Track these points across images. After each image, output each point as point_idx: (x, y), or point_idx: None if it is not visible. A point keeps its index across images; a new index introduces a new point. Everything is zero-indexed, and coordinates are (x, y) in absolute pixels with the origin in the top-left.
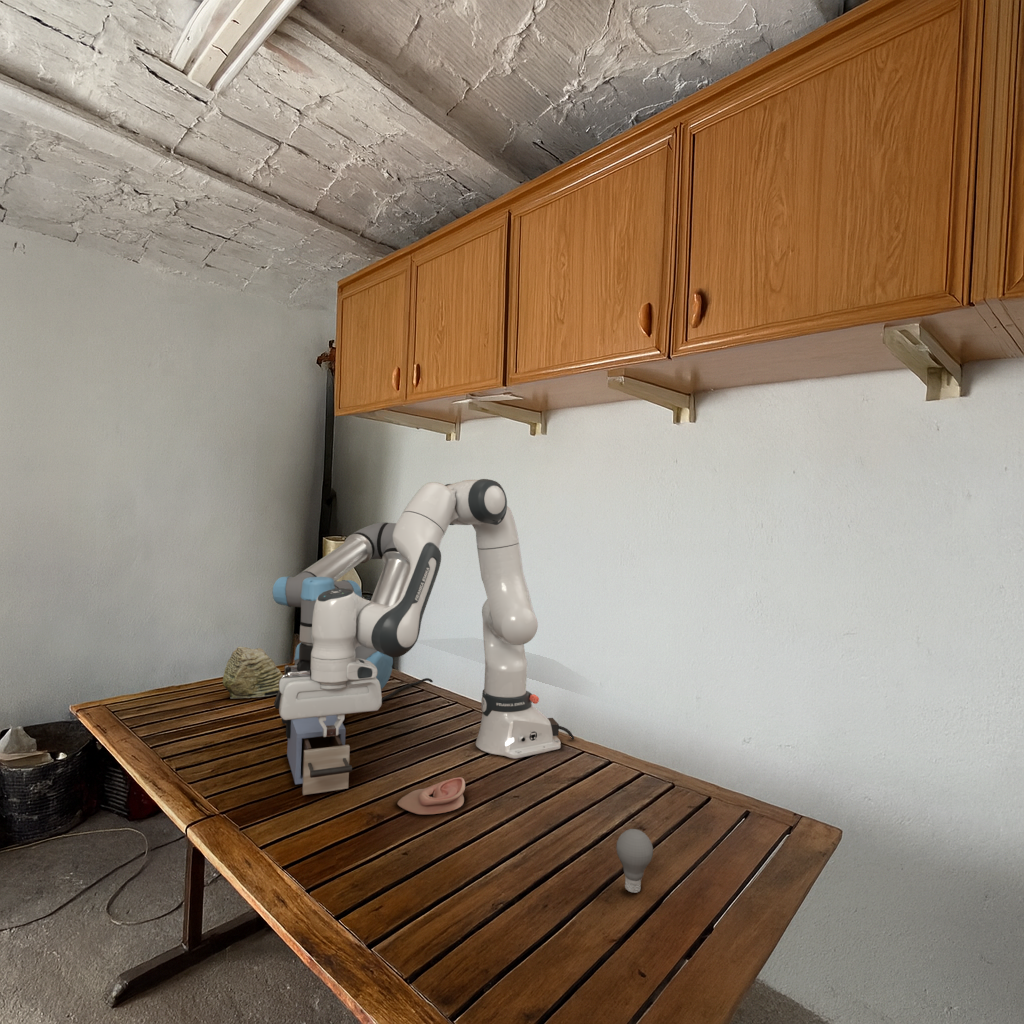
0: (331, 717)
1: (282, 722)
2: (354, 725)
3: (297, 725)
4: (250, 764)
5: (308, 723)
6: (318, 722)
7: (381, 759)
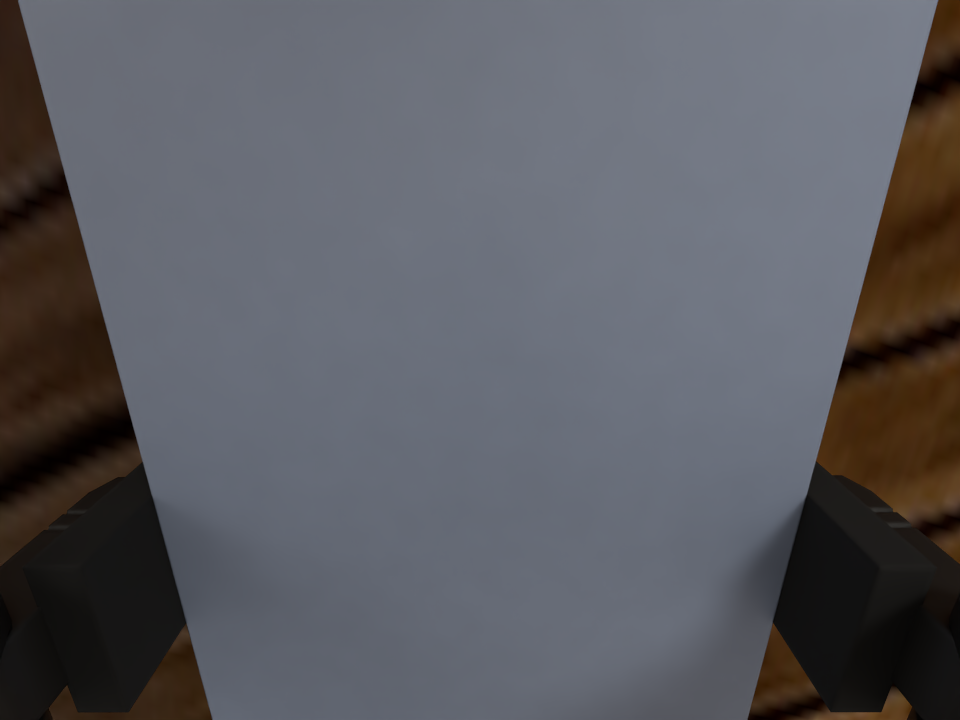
0: (224, 307)
1: (859, 485)
2: (199, 713)
3: (862, 60)
4: (835, 387)
5: (645, 117)
6: (463, 113)
7: (12, 191)
